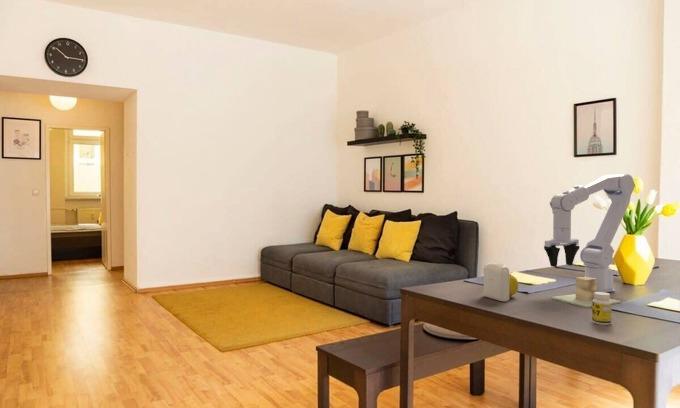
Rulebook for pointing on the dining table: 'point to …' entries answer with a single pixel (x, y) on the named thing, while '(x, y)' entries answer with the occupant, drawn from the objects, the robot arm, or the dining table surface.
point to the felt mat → (579, 300)
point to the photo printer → (496, 281)
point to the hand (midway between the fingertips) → (561, 265)
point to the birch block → (585, 288)
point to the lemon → (512, 285)
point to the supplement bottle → (601, 308)
